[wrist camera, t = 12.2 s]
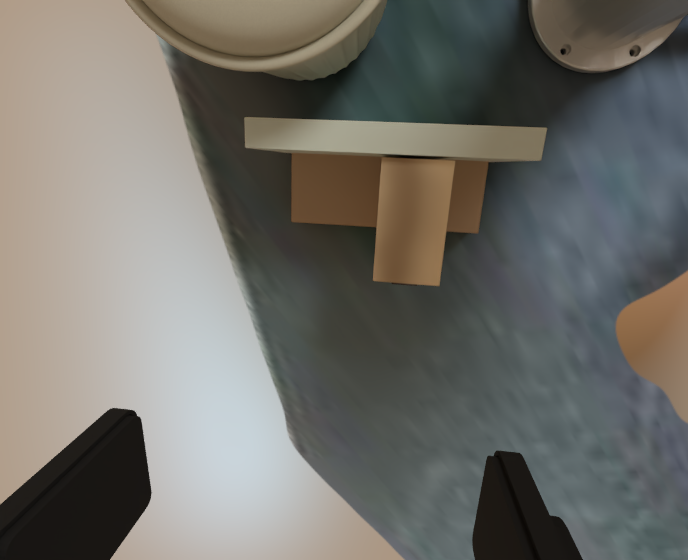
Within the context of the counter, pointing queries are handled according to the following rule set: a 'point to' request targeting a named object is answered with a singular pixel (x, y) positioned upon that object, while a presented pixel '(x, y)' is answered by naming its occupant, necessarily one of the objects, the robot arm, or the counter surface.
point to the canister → (266, 32)
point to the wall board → (366, 156)
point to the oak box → (412, 220)
